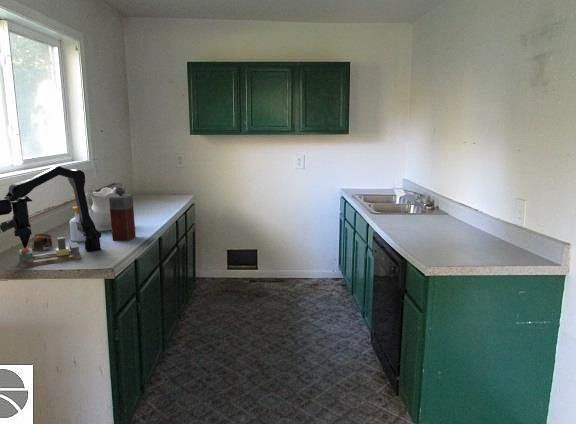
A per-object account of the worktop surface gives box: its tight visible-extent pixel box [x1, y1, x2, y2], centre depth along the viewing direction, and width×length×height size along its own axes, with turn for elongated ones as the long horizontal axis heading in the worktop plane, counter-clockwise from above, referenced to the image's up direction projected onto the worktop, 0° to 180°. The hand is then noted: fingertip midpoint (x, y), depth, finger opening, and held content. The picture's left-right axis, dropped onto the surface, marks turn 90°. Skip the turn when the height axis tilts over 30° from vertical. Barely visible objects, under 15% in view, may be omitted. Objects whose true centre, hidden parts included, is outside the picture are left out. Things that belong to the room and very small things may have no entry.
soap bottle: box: [68, 193, 85, 243], centre depth 237 cm, size 9×9×25 cm
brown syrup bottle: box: [109, 186, 137, 242], centre depth 239 cm, size 9×11×28 cm
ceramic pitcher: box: [85, 187, 118, 232], centre depth 261 cm, size 22×20×25 cm
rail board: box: [18, 241, 82, 268], centre depth 203 cm, size 24×11×6 cm, turn 121°
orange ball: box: [21, 246, 29, 252], centre depth 198 cm, size 2×2×2 cm
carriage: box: [55, 236, 70, 256], centre depth 205 cm, size 5×5×8 cm
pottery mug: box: [31, 233, 53, 251], centre depth 224 cm, size 12×10×8 cm
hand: (25, 247), depth 198 cm, fingers closed
